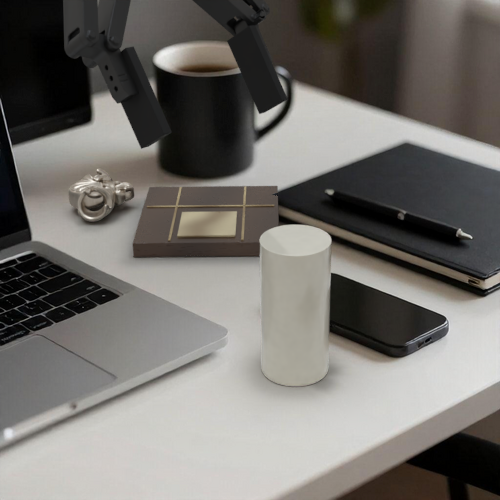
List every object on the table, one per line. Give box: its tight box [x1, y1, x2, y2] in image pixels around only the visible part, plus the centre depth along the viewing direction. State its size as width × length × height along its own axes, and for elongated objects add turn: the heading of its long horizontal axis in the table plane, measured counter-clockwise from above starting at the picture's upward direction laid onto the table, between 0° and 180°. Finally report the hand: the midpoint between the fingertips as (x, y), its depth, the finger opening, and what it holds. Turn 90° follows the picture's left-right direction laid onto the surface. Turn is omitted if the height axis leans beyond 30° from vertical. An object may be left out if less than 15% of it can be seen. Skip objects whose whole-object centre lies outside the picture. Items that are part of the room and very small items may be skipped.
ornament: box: [68, 167, 135, 223], centre depth 98 cm, size 8×7×4 cm
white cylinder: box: [259, 224, 333, 387], centre depth 69 cm, size 5×5×11 cm
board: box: [132, 185, 280, 258], centre depth 95 cm, size 14×14×2 cm
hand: (219, 123), depth 70 cm, fingers open, 13 cm apart
